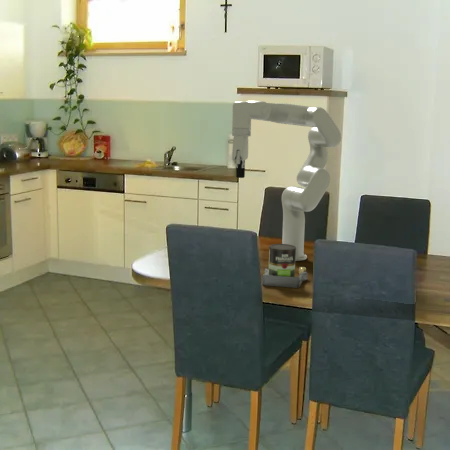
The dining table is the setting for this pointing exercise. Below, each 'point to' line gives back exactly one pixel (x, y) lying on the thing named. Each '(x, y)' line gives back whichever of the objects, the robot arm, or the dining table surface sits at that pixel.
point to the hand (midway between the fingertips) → (240, 177)
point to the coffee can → (282, 259)
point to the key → (302, 269)
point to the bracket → (283, 280)
